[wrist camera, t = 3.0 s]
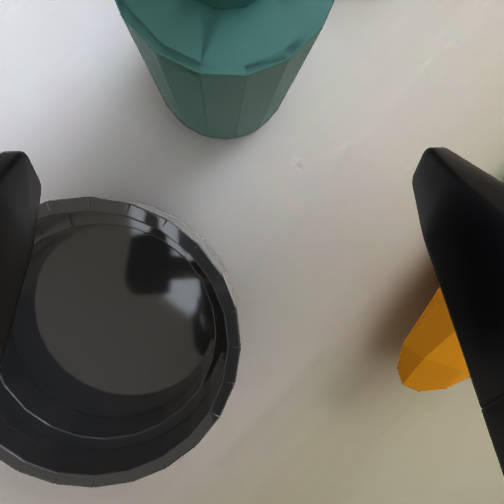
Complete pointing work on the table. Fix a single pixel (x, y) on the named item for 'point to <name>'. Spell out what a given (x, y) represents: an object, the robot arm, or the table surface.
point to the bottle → (224, 56)
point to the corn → (432, 351)
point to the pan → (115, 345)
